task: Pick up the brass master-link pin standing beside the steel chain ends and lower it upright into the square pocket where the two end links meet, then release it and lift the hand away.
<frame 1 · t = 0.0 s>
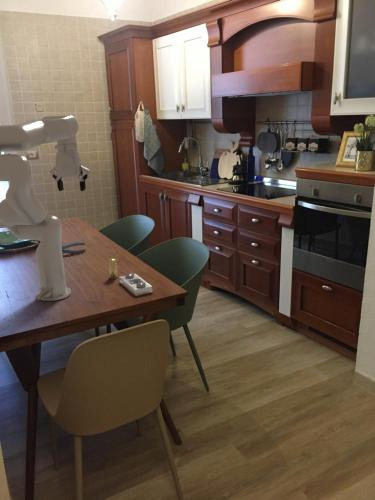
hand: (72, 190, 181), 37 cm above the table, tool pointing down, fingers open, 9 cm apart
pliers: (66, 255, 220), on the table
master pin: (113, 277, 186), on the table
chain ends: (135, 287, 174), on the table
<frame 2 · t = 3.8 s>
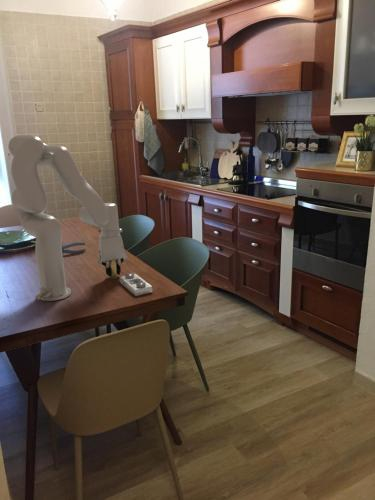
hand: (113, 274, 186), 1 cm above the table, tool pointing down, fingers closed on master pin, 3 cm apart
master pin: (113, 277, 186), on the table, touching gripper
everything else where it was.
when the fingers open (3 cm above the table, at t = 10.0 s): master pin drops 2 cm, resting in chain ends.
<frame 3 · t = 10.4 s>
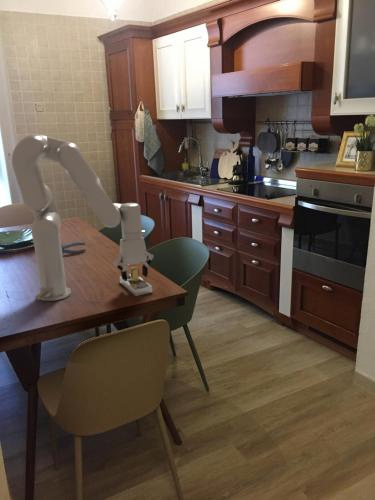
hand: (135, 277, 173), 4 cm above the table, tool pointing down, fingers open, 8 cm apart
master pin: (135, 287, 174), resting in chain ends
everything else where it was.
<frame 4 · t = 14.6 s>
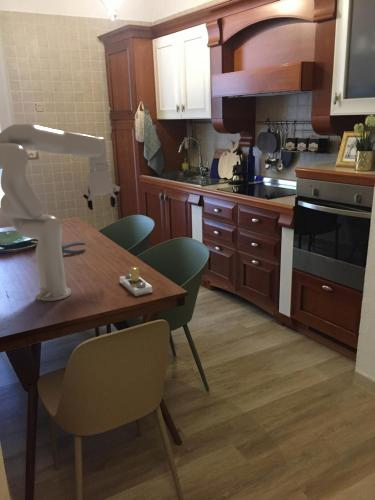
hand: (102, 208, 187), 28 cm above the table, tool pointing down, fingers open, 9 cm apart
nothing on the table moved.
at the end: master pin 0.1 cm off-centre on the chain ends, point 0.0 cm above the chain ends's base; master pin tilted 0°; the gripper is holding nothing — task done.
